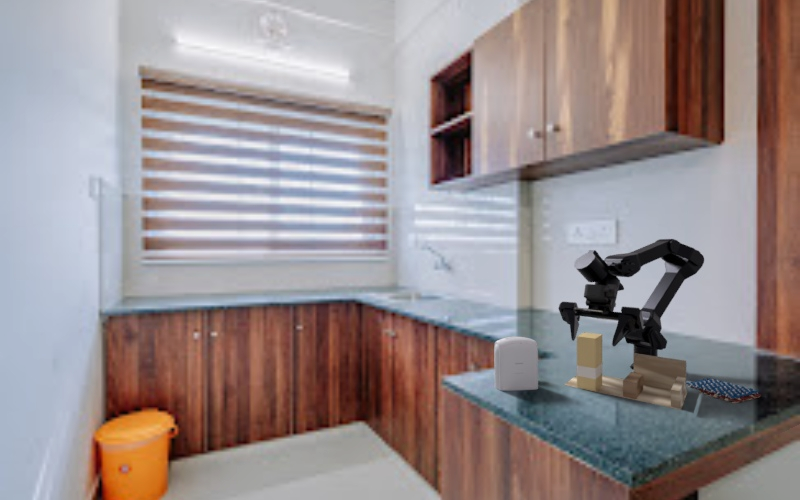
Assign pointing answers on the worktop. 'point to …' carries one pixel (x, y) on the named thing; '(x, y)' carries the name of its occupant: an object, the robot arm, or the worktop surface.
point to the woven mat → (724, 390)
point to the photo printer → (516, 364)
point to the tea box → (589, 361)
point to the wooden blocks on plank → (649, 382)
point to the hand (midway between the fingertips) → (592, 342)
